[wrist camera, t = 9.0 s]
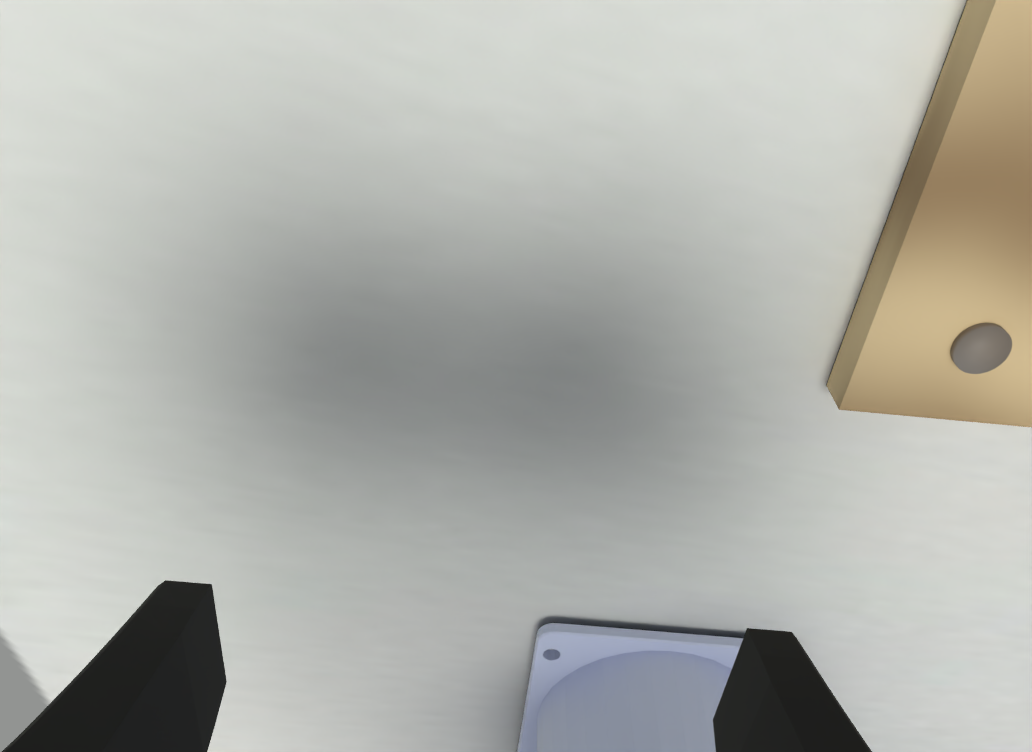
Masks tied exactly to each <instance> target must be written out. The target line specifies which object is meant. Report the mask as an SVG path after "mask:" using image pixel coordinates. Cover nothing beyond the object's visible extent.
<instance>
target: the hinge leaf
mask: <svg viewBox="0 0 1032 752" xmlns="http://www.w3.org/2000/svg"><path fill="white" fill-rule="evenodd" d="M826 386H827V387H828V389H829V391H830V393H831V395H832V397H833V399H834V401H835V403H836V405H837V407H838V408H839V410H849V411H860V412H871V413H882V414H893V415H904V416H915V417H926V418H936V419H947V420H958V421H969V422H980V423H991V424H1002V425H1013V426H1023V427H1032V0H967V3H966V6H965V9H964V11H963V14H962V17H961V19H960V22H959V25H958V28H957V30H956V33H955V36H954V39H953V41H952V44H951V47H950V49H949V52H948V55H947V58H946V60H945V63H944V66H943V69H942V71H941V74H940V77H939V80H938V82H937V85H936V88H935V90H934V93H933V96H932V99H931V101H930V104H929V107H928V110H927V112H926V115H925V118H924V120H923V123H922V126H921V129H920V131H919V134H918V137H917V140H916V142H915V145H914V148H913V151H912V153H911V156H910V159H909V161H908V164H907V167H906V170H905V172H904V175H903V178H902V181H901V183H900V186H899V189H898V191H897V194H896V197H895V200H894V202H893V205H892V208H891V211H890V213H889V216H888V219H887V222H886V224H885V227H884V230H883V232H882V235H881V238H880V241H879V243H878V246H877V249H876V252H875V254H874V257H873V260H872V262H871V265H870V268H869V271H868V273H867V276H866V279H865V282H864V284H863V287H862V290H861V292H860V295H859V298H858V301H857V303H856V306H855V309H854V312H853V314H852V317H851V320H850V323H849V325H848V328H847V331H846V333H845V336H844V339H843V342H842V344H841V347H840V350H839V353H838V355H837V358H836V361H835V363H834V366H833V369H832V372H831V374H830V377H829V380H828V383H827V385H826Z"/></svg>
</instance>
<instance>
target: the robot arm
mask: <svg viewBox="0 0 1032 752" xmlns="http://www.w3.org/2000/svg"><path fill="white" fill-rule="evenodd" d="M550 649H551V650H550ZM225 685H226V676H225V669H224V662H223V656H222V649H221V643H220V636H219V629H218V623H217V616H216V610H215V603H214V596H213V590H212V584H201V583H189V582H177V581H164V582H163V583H161V584H160V585H159V586H157V588H156V589H155V590H154V591H153V592H152V593H151V594H150V596H149V597H148V598H147V599H146V600H145V601H144V602H143V604H142V605H141V606H140V607H139V608H138V609H137V610H136V612H135V613H134V614H133V615H132V616H131V617H130V618H129V619H128V621H127V622H126V623H125V624H124V625H123V626H122V627H121V628H120V630H119V631H118V632H117V633H116V634H115V635H114V636H113V637H112V638H111V640H110V641H109V642H108V643H107V644H106V645H105V646H104V647H103V648H102V649H101V651H100V652H99V653H98V654H97V655H96V656H95V657H94V658H93V659H92V660H91V661H90V662H89V664H88V665H87V666H86V667H85V668H84V669H83V670H82V671H81V672H80V673H79V674H78V675H77V676H76V677H75V678H74V679H73V681H72V682H71V683H70V684H69V685H68V686H67V687H66V688H65V689H64V690H63V691H62V692H61V693H60V694H59V695H58V696H57V697H56V698H55V699H54V700H53V701H52V702H51V703H50V704H49V705H48V706H47V707H46V708H45V710H44V711H43V712H42V713H41V714H40V715H39V716H38V717H37V718H36V719H35V720H34V721H33V722H32V723H31V724H30V725H29V726H28V727H27V728H26V729H25V730H24V731H23V732H22V733H21V734H20V735H19V736H18V737H17V738H16V739H15V740H14V741H13V742H12V743H11V744H10V745H9V746H8V747H6V748H5V749H4V750H3V751H2V752H207V750H208V747H209V743H210V740H211V736H212V733H213V729H214V726H215V722H216V719H217V715H218V711H219V708H220V704H221V700H222V697H223V693H224V689H225ZM517 752H872V751H871V750H870V748H869V747H868V745H867V744H866V743H865V741H864V740H863V738H862V737H861V735H860V734H859V732H858V731H857V729H856V728H855V726H854V725H853V723H852V722H851V720H850V719H849V717H848V716H847V714H846V713H845V712H844V710H843V709H842V707H841V706H840V704H839V703H838V701H837V700H836V698H835V696H834V695H833V693H832V692H831V690H830V689H829V687H828V686H827V684H826V683H825V681H824V680H823V678H822V677H821V675H820V674H819V672H818V670H817V669H816V667H815V666H814V664H813V663H812V661H811V660H810V658H809V657H808V655H807V653H806V652H805V650H804V649H803V647H802V646H801V644H800V643H799V641H798V640H797V638H796V637H795V636H794V635H793V633H792V632H785V631H773V630H761V629H749V628H747V630H746V633H745V635H744V638H733V637H721V636H709V635H696V634H684V633H672V632H660V631H647V630H635V629H623V628H611V627H598V626H586V625H574V624H562V623H549V624H546V625H543V626H542V627H541V628H539V630H538V632H537V635H536V641H535V647H534V653H533V659H532V665H531V671H530V677H529V683H528V689H527V695H526V701H525V707H524V713H523V719H522V725H521V731H520V737H519V743H518V749H517Z"/></svg>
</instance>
